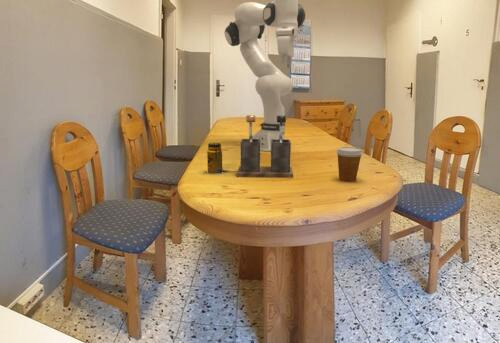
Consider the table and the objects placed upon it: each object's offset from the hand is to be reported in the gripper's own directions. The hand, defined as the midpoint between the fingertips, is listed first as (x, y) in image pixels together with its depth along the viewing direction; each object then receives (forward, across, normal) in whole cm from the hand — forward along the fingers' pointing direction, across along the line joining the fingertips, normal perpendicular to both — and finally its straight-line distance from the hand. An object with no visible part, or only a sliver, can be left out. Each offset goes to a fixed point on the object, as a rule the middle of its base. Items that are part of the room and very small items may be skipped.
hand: (286, 67), depth 155 cm
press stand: (+42, +16, -6) cm, 45 cm away
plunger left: (+31, +17, -11) cm, 37 cm away
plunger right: (+31, +14, 0) cm, 34 cm away
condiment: (+42, +18, -26) cm, 52 cm away
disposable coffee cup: (+43, +17, +27) cm, 53 cm away
